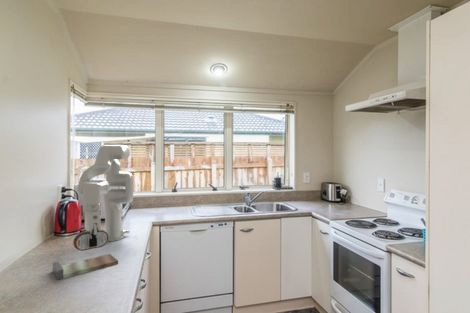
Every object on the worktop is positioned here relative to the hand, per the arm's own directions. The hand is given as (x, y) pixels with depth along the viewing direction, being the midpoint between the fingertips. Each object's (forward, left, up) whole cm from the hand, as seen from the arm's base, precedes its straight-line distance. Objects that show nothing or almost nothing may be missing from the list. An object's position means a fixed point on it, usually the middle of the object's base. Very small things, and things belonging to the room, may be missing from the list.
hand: (92, 245), depth 128 cm
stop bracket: (+14, 0, -10) cm, 17 cm away
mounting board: (+1, 0, -10) cm, 10 cm away
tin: (0, 0, -2) cm, 2 cm away
